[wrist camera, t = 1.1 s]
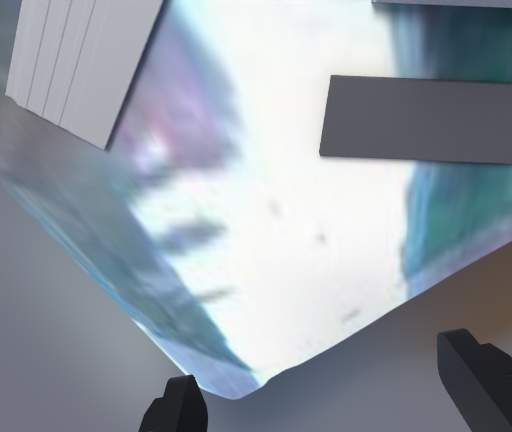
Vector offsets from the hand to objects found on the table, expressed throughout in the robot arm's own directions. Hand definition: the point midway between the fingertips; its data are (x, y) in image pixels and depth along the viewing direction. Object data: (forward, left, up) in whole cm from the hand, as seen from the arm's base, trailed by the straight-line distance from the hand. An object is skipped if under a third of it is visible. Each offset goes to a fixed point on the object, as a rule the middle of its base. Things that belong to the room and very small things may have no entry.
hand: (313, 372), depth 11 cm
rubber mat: (0, +20, -28) cm, 34 cm away
